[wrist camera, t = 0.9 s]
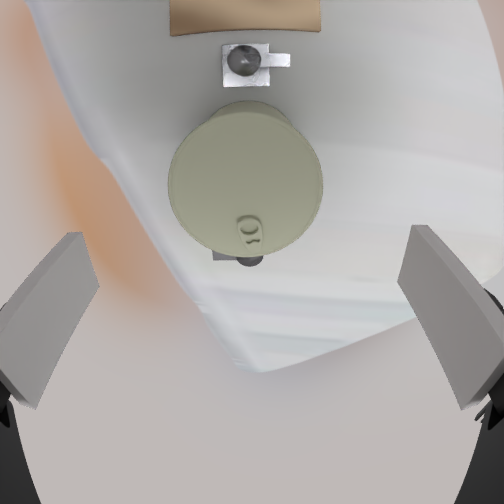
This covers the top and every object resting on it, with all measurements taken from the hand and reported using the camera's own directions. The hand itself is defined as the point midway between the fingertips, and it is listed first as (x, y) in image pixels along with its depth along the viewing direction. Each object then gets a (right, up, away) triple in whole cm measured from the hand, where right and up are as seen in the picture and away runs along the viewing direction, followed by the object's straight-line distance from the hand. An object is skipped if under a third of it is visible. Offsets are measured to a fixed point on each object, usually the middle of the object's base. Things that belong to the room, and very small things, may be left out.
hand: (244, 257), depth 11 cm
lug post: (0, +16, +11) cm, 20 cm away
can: (0, +10, +16) cm, 19 cm away
